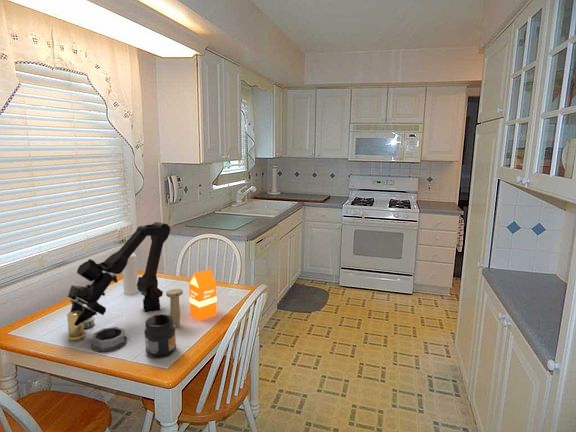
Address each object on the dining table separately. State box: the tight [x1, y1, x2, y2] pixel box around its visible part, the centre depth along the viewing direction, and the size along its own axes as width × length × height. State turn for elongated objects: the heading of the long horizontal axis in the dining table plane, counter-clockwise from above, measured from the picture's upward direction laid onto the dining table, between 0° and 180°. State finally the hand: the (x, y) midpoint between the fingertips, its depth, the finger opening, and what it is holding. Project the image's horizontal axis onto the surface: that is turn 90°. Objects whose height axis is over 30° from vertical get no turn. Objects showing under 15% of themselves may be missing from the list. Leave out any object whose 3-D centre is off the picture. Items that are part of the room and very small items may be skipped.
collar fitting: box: [90, 326, 128, 353], centre depth 139 cm, size 12×12×4 cm
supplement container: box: [143, 313, 177, 359], centre depth 134 cm, size 10×10×12 cm
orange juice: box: [188, 269, 218, 322], centre depth 163 cm, size 8×9×20 cm
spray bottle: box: [122, 252, 139, 296], centre depth 185 cm, size 7×7×25 cm
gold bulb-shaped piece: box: [66, 311, 86, 343], centre depth 142 cm, size 6×6×10 cm
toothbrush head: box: [82, 304, 95, 329], centre depth 161 cm, size 5×7×25 cm
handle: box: [165, 288, 184, 328], centre depth 153 cm, size 5×6×15 cm
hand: (71, 323), depth 141 cm, fingers closed on gold bulb-shaped piece, 5 cm apart
